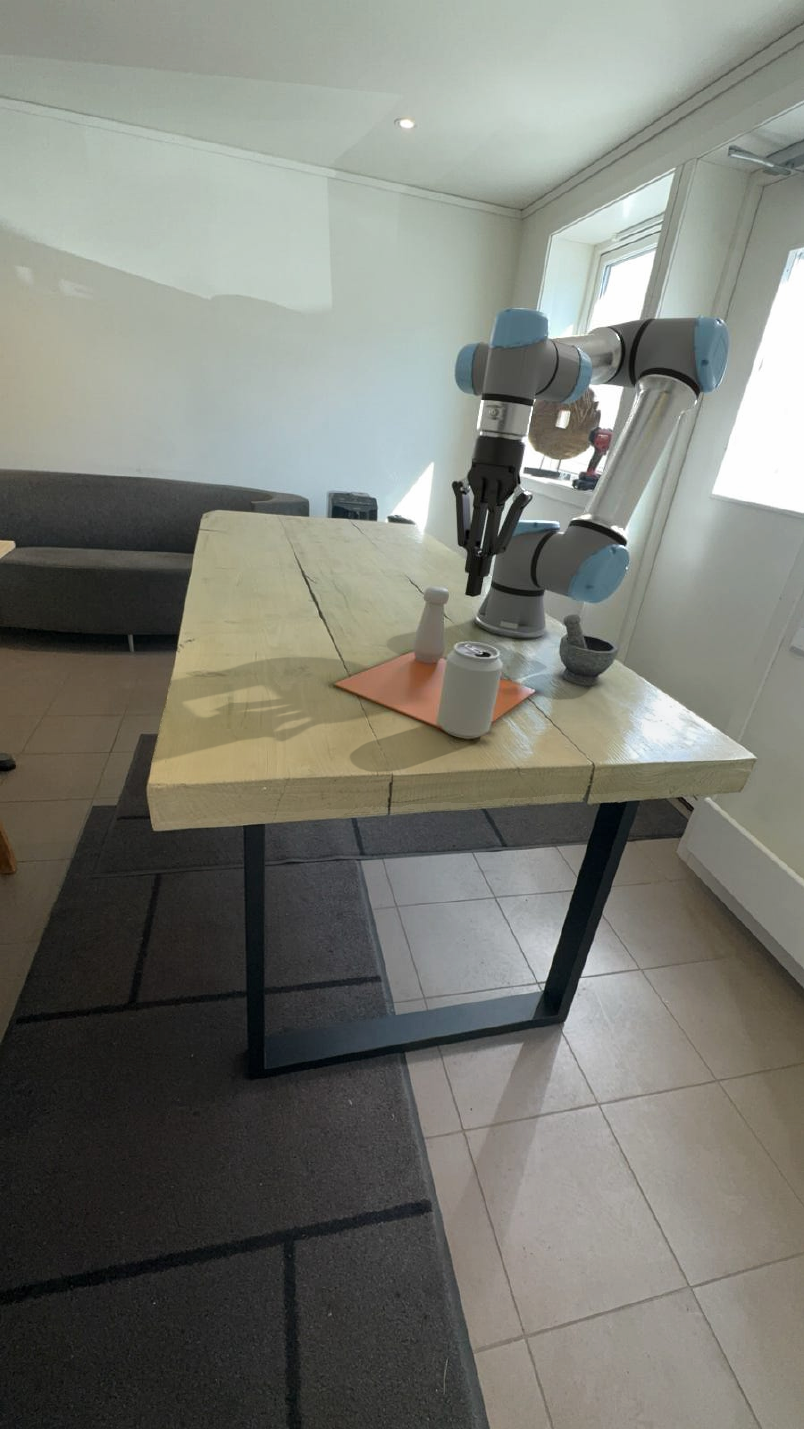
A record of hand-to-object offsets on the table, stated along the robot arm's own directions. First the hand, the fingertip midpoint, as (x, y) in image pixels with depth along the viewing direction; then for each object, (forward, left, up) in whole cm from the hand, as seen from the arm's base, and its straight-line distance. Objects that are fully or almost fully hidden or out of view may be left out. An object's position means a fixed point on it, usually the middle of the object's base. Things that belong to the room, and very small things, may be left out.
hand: (472, 594), depth 96 cm
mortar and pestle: (-15, +16, -14) cm, 26 cm away
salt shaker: (0, -7, -14) cm, 16 cm away
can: (+19, +11, -14) cm, 26 cm away
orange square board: (+9, +1, -14) cm, 16 cm away
